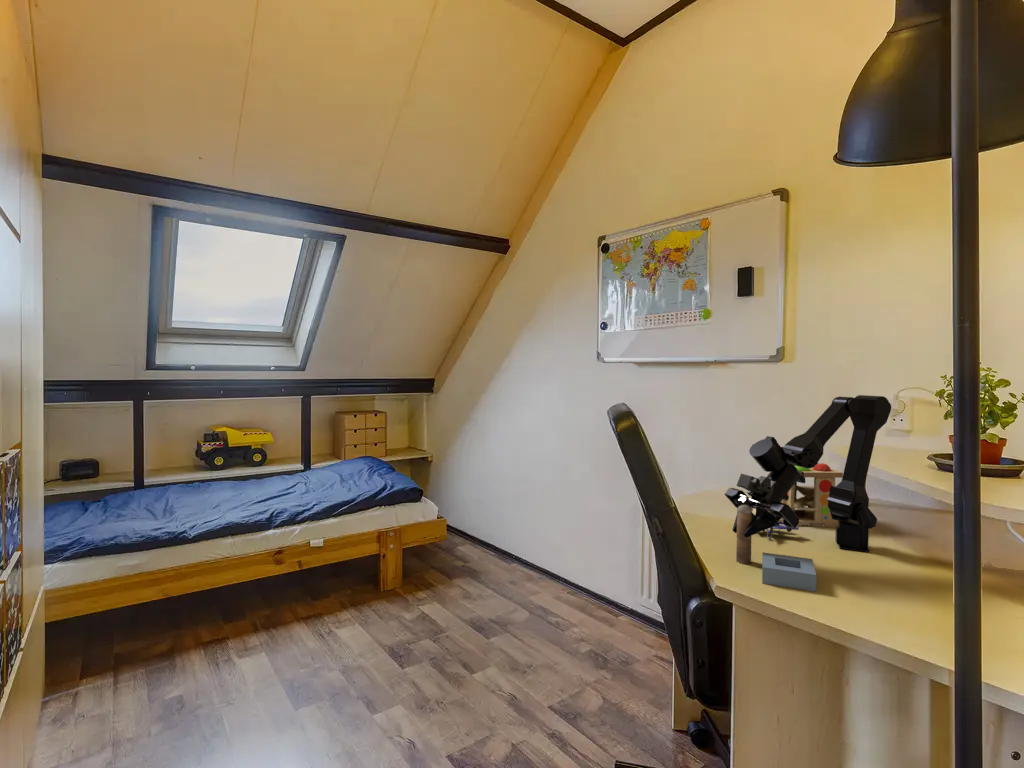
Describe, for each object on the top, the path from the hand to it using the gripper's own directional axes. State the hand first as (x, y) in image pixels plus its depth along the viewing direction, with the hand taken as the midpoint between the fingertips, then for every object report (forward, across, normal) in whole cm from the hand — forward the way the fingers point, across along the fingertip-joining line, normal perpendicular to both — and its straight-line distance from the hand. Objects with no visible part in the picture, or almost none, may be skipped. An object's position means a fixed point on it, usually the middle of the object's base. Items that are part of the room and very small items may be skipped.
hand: (739, 533), depth 125 cm
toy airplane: (-11, -13, +21) cm, 27 cm away
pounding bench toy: (-24, -24, +34) cm, 48 cm away
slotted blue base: (+3, +11, +7) cm, 14 cm away
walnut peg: (+4, 0, +6) cm, 7 cm away
